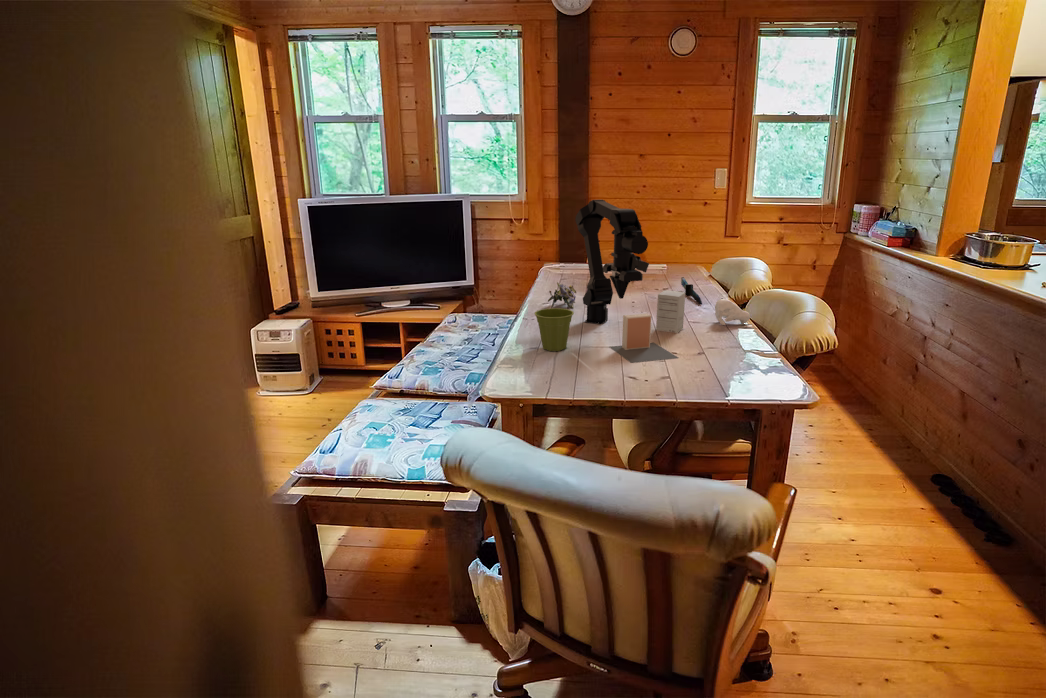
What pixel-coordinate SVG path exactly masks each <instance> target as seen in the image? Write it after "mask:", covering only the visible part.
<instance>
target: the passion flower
mask: <svg viewBox="0 0 1046 698" xmlns="http://www.w3.org/2000/svg"><path fill="white" fill-rule="evenodd" d="M556 284H557V287H558V288H559V290H558V289H557V288H556V289H554V290H555V291H554V292H553V294H552V290H549V291H548V293H549V294H550V297H549V298H548V300H547V302H550V301H551V300H552V303H551V304H552V305H551V308H554V306H555V305H554V304H556V303H557V302H558V301H560V302H562V301H563V302H564V305H567V307H568V308H570V309H574V308H575V307H574V304H575V303H576V298H577V296H576V294H577V290H576V289H575V288H574V285H569V286H567V285H564V284H563V283H559V282H556Z"/></svg>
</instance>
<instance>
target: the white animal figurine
mask: <svg viewBox="0 0 1046 698" xmlns="http://www.w3.org/2000/svg"><path fill="white" fill-rule="evenodd" d="M714 311H715V313H714V314H715V317H716V320H717V321H718V323H719V324H720V325H722V326H723V325H725V326H726V322H731V321H739V322H740V324H741V323H742V325H745V324H746V323H747V322H748V321H750V319H751V318H750V317H751V316H750V315H751V314H750V313H749V312H748V311H746V310H743V309H741V307H739V306H738V305H737V304H736V303H735V302H733V301H731V300H729V299H727V298H722V299H719V300H717V301H716V302H715V305H714ZM744 323H745V324H744Z"/></svg>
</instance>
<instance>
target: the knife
mask: <svg viewBox="0 0 1046 698" xmlns="http://www.w3.org/2000/svg"><path fill="white" fill-rule="evenodd" d="M680 285H681V286H682V287H683V289H684V292H685V296H686V295H687V296H691V298H692V299H693V300H694V301H695V300H696V301H697V302H696V303H697V304H698V305H701V306H702V305H703V301H702V299H701V296H700V295H699V294H698V293H697V292H696V291H695V290H694V285H693V284H689V283H688V281H687V280H686V279H685V277H684V276H683V277H681V278H680Z"/></svg>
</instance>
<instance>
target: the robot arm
mask: <svg viewBox="0 0 1046 698" xmlns="http://www.w3.org/2000/svg"><path fill="white" fill-rule="evenodd" d="M604 218H605V219H607V220H608V221H609V225H610V226H611V227H613V230H612V231H611V235H613V252H611V257H612V258H613V259H612V260H613V262H611V263H610V262H609V263H605V264H603V261H602V260H603V259H602V253H601V247H600V240H599V239H600V238H599V233H600V230H601V227H602V222H603V220H604ZM575 223H576V226H577V230H578V232H579V234H580V235H581V236H582V237H583V238H584V246H585V253H586V258H587V266H588V271H589V281H588V282H587V285H586V291H585V293H584V295H583V297H582V303H583V305H585V306H586V320H585V321H584V322H585V323H591V324H601V325H603V324H604V323H606V322H607V321H608V320H609V318H608V317H609V316H608V315H609V308H607V306H608V305H611V303H612V300H613V297H614V296H613V295H614V291H613V290H614V289H615V291H616V294H617V297H618V299H624V296H625V294H626V291H627V289H628V286H629V284H630V283H631V282H642V281H643V279H644V278H643V276H644V275H643V273H647V271H648V268H649V266H650V262H646V261H644V260H642V258H641V256H639V255H642V254H643V253H645V252H646V251H647V249H648V246H649V242H648V239H647V237H646V236H644V235H643V234H644V233H643V230H642V224H641V223H640V220H639V217H638V214H637V213H636V210H635V209H633V208H620V207H617V206H616V205H614V204H611V203H609V202H607V201H606V200H605V199H591V200H590V201H589V202H588V204H586V205H585V206H582V207H581V208H580V209H579V210H578V212H577V213H576V215H575ZM608 272H611V275H609V278H608V277H607V276H606V275H605V274H608ZM642 272H643V273H642ZM612 285H613V287H614V289H613V287H612Z"/></svg>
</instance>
